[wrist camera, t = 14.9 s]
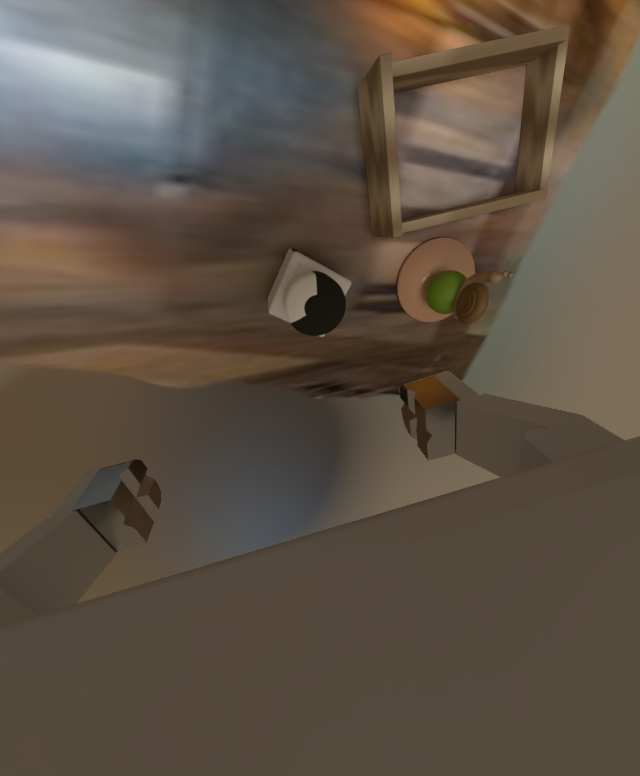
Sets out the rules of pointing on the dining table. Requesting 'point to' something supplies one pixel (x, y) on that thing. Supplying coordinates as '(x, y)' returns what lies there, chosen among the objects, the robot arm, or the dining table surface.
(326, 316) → the medicine bottle
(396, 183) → the cold frame
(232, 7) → the dining table surface
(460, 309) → the snail figurine
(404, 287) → the tan disc
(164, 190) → the dining table surface
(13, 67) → the dining table surface
